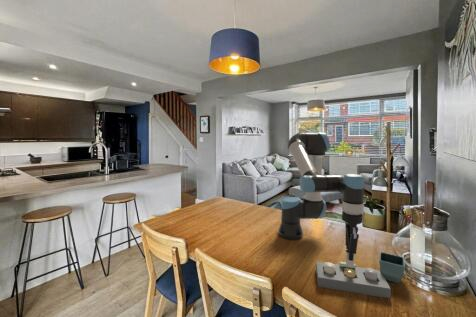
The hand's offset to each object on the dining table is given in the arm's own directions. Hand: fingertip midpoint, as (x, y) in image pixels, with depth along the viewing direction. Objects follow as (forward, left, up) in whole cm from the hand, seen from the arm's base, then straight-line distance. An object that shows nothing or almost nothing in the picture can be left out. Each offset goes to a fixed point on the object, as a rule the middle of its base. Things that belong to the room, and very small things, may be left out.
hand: (349, 265), depth 91 cm
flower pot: (+18, +8, -8) cm, 21 cm away
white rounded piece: (-8, 0, -6) cm, 10 cm away
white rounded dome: (+8, 0, -6) cm, 10 cm away
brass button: (0, 0, -7) cm, 7 cm away
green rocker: (0, +4, -3) cm, 5 cm away
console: (0, 0, -7) cm, 7 cm away
